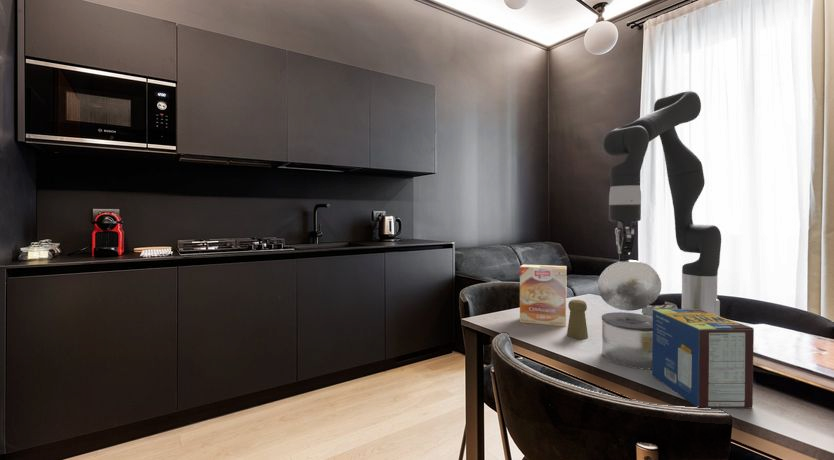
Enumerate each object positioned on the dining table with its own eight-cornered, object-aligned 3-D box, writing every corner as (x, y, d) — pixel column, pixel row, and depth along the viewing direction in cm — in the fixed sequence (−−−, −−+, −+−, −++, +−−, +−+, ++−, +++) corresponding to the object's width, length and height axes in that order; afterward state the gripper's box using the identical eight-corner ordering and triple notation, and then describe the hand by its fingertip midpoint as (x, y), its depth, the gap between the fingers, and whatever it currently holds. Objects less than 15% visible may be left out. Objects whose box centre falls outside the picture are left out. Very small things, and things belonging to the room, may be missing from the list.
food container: (662, 346, 107) (663, 310, 106) (641, 339, 112) (641, 306, 112) (687, 338, 112) (687, 305, 112) (665, 333, 118) (666, 301, 117)
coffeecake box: (519, 322, 131) (519, 266, 130) (522, 317, 138) (522, 263, 137) (566, 327, 125) (566, 268, 125) (566, 321, 132) (566, 265, 131)
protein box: (696, 374, 88) (697, 308, 87) (753, 409, 72) (755, 328, 72) (650, 374, 88) (651, 308, 87) (697, 408, 72) (699, 328, 72)
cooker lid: (658, 312, 102) (655, 307, 105) (664, 262, 97) (661, 258, 99) (596, 308, 107) (595, 303, 109) (599, 260, 102) (598, 256, 104)
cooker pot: (656, 351, 103) (657, 314, 102) (673, 372, 89) (674, 330, 89) (598, 345, 107) (598, 310, 107) (605, 365, 94) (605, 325, 93)
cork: (590, 339, 113) (590, 302, 112) (568, 338, 114) (568, 302, 113) (585, 333, 118) (585, 298, 118) (565, 332, 120) (565, 297, 119)
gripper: (646, 202, 94) (645, 272, 95) (635, 203, 107) (634, 265, 108) (613, 203, 97) (612, 270, 98) (605, 204, 109) (604, 264, 110)
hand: (623, 267), depth 103 cm, fingers closed
